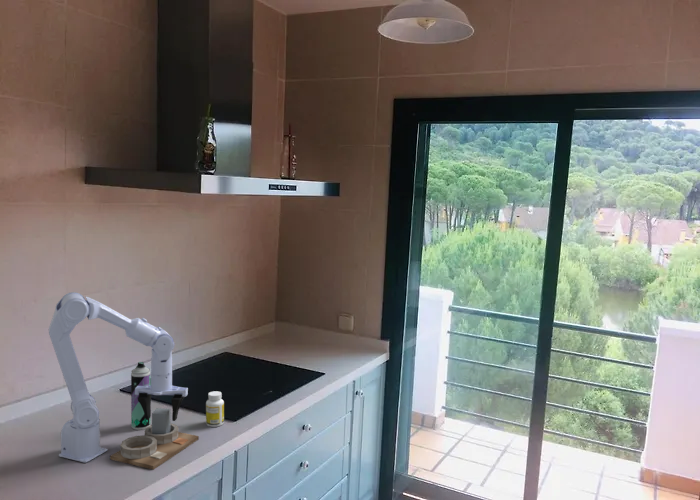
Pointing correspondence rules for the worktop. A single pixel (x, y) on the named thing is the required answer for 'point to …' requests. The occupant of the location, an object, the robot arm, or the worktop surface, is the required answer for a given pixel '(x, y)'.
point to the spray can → (138, 378)
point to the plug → (161, 421)
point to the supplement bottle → (214, 409)
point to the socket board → (153, 447)
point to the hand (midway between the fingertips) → (161, 419)
